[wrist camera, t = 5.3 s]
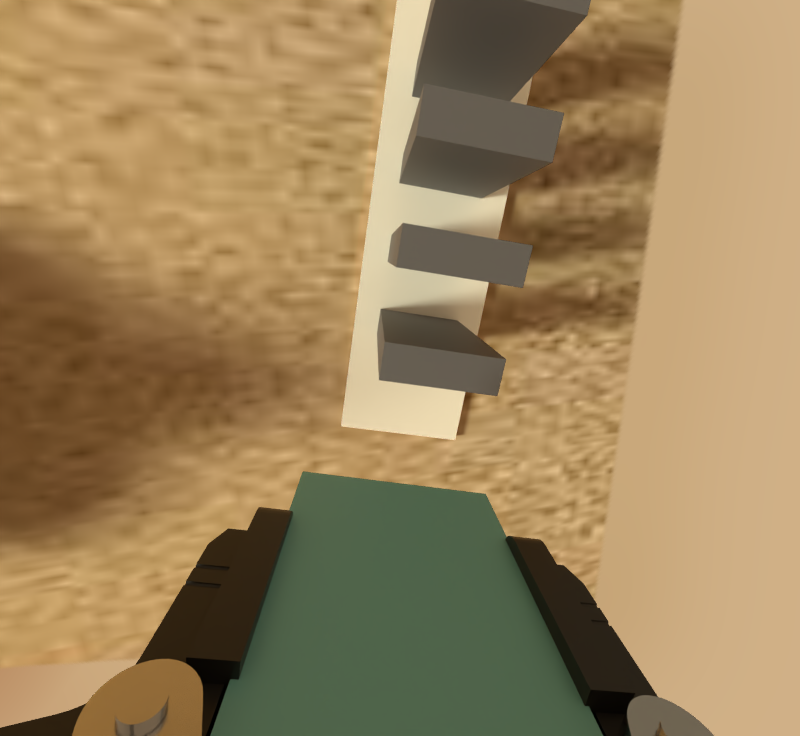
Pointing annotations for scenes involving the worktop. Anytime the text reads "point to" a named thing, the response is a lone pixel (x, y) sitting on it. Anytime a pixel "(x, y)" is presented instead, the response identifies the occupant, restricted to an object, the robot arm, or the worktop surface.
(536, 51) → the domino
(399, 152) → the strip
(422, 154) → the domino
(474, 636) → the domino
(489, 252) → the domino
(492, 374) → the domino
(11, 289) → the worktop surface
